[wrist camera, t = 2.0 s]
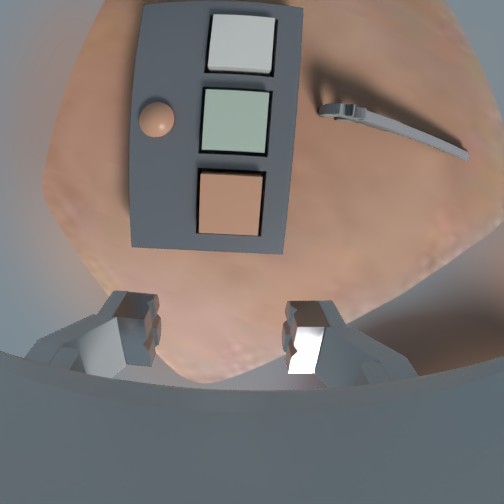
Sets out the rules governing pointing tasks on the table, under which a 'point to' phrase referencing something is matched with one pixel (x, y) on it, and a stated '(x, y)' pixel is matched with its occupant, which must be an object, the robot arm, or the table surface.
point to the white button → (241, 45)
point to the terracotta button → (230, 202)
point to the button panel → (191, 126)
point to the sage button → (235, 120)
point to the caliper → (387, 126)
